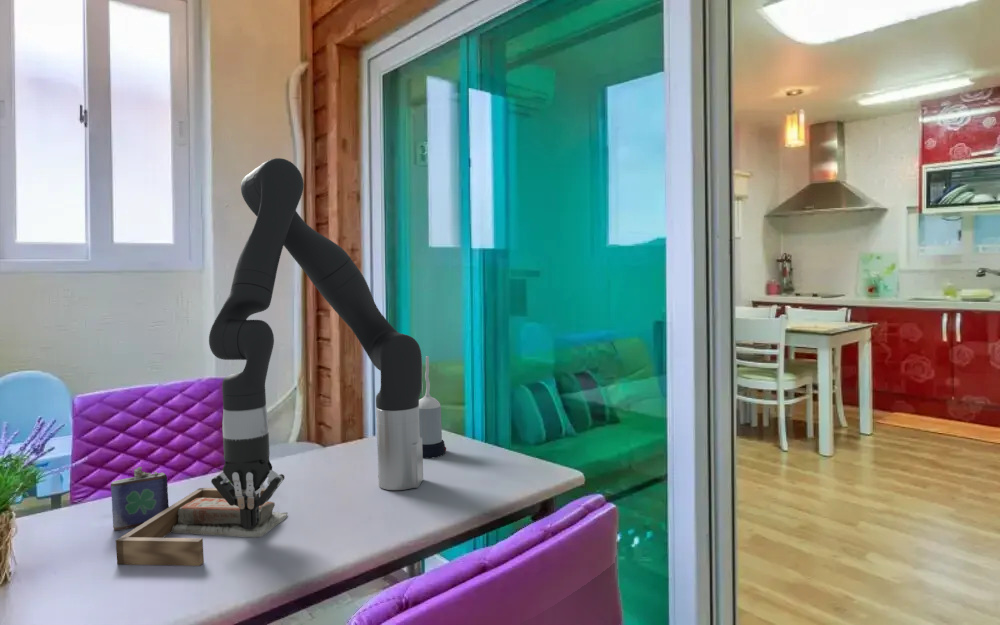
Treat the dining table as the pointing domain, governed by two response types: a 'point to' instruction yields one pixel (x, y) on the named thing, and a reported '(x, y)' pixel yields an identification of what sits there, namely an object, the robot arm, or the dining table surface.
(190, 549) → the frame
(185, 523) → the packaged product
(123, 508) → the flask
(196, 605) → the dining table surface
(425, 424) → the humidifier
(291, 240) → the robot arm
